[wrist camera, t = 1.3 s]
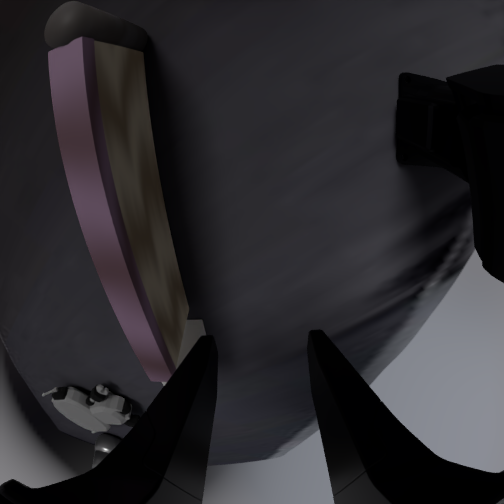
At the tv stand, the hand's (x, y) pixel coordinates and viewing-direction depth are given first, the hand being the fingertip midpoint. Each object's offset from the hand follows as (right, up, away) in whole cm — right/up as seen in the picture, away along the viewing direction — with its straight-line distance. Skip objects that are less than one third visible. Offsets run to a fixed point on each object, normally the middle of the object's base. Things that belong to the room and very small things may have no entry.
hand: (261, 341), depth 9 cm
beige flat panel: (-7, +7, +9) cm, 14 cm away
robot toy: (-24, -19, +27) cm, 41 cm away
